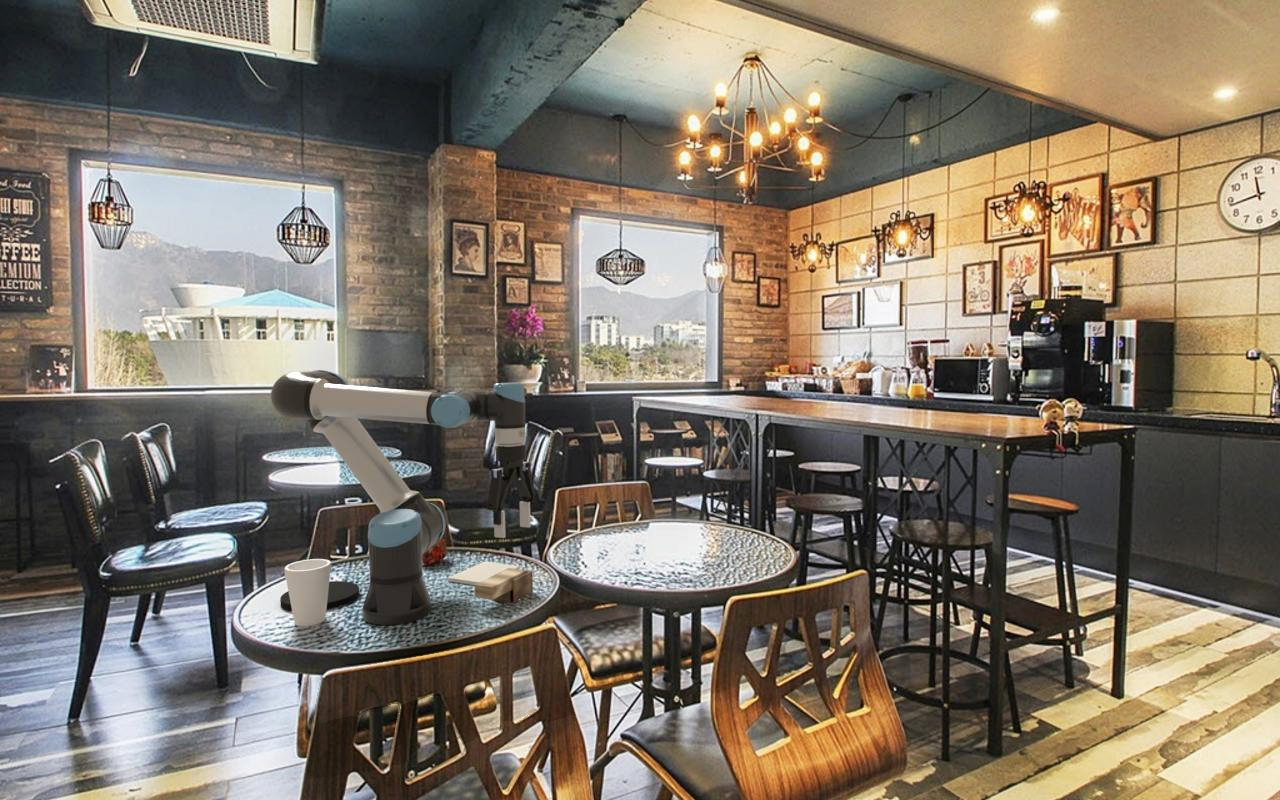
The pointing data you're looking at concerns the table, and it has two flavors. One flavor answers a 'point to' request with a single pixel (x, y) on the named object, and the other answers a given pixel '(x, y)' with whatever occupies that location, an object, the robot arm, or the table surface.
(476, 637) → the table surface
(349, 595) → the wireless charger
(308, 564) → the foam cup
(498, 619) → the table surface
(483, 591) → the maple bar
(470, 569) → the cream pad
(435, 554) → the dragon fruit
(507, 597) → the box
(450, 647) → the table surface
